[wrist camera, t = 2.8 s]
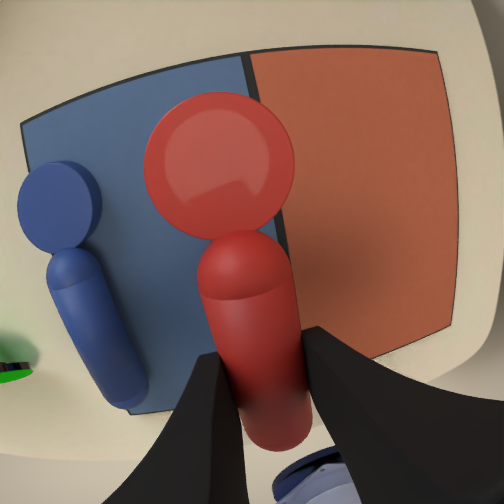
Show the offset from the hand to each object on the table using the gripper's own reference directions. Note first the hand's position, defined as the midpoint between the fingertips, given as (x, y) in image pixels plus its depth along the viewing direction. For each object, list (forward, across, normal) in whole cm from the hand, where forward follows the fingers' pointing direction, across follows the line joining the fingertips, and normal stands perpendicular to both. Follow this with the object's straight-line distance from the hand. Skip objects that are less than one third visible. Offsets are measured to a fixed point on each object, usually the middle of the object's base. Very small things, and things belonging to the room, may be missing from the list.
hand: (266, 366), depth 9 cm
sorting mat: (+5, -2, -2) cm, 6 cm away
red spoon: (+1, 0, -2) cm, 2 cm away
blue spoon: (+5, +6, -2) cm, 8 cm away
